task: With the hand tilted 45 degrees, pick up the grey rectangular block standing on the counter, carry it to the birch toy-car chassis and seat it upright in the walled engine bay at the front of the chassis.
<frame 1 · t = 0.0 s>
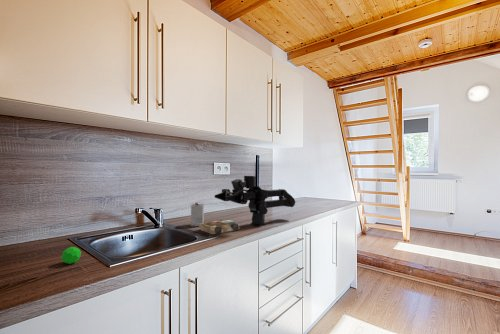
hand: (219, 197, 120), 17 cm above the worktop, tool horizontal, fingers open, 9 cm apart
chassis: (220, 229, 124), on the worktop
grey rectangular block: (197, 225, 133), on the worktop
polyhedron: (71, 263, 78), on the worktop
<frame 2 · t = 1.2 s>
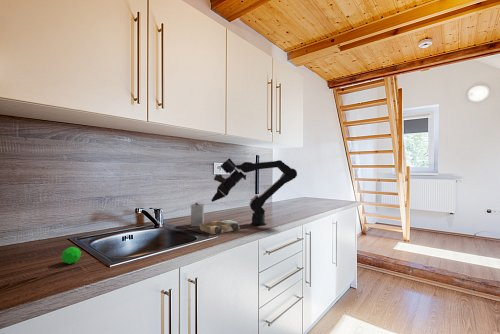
hand: (212, 200, 134), 13 cm above the worktop, tool tilted 45°, fingers open, 9 cm apart
nothing on the worktop moved.
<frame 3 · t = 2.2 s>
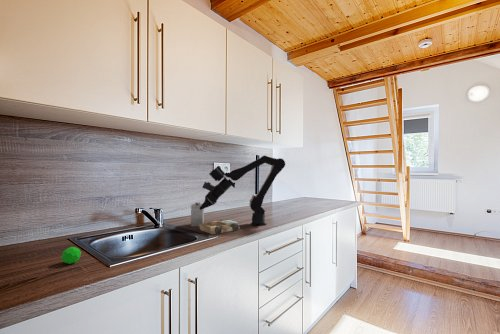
hand: (200, 207, 134), 9 cm above the worktop, tool tilted 45°, fingers open, 9 cm apart
nothing on the worktop moved.
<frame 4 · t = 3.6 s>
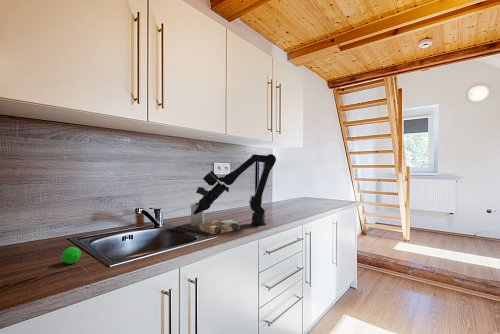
hand: (194, 212, 133), 7 cm above the worktop, tool tilted 45°, fingers closed on grey rectangular block, 6 cm apart
grey rectangular block: (197, 225, 133), on the worktop, touching gripper
everything else where it was.
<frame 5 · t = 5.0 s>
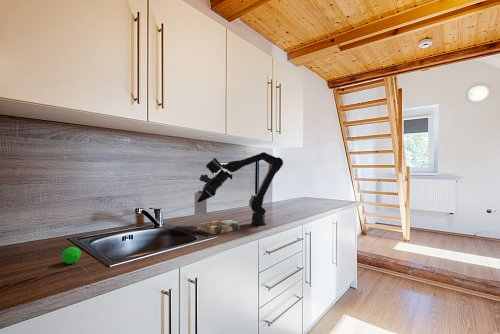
hand: (198, 201, 130), 13 cm above the worktop, tool tilted 45°, fingers closed on grey rectangular block, 6 cm apart
grey rectangular block: (200, 213, 130), point 7 cm above the worktop, touching gripper
everything else where it was.
when the fingers open (9 cm above the worktop, at t = 6.9 s): grey rectangular block drops 1 cm, resting on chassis.
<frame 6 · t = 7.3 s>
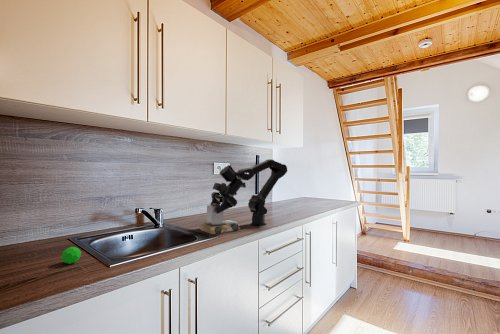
hand: (212, 211, 121), 9 cm above the worktop, tool tilted 45°, fingers open, 9 cm apart
grey rectangular block: (214, 228, 122), point 1 cm above the worktop, touching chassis
everything else where it was.
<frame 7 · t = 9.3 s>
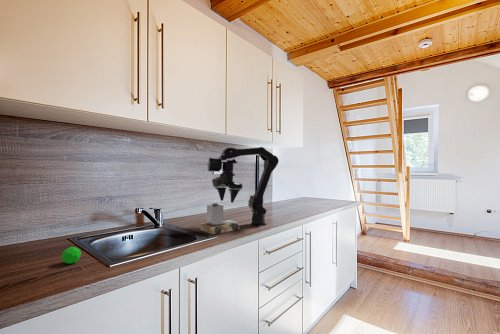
hand: (226, 201, 130), 13 cm above the worktop, tool pointing down, fingers open, 9 cm apart
nothing on the worktop moved.
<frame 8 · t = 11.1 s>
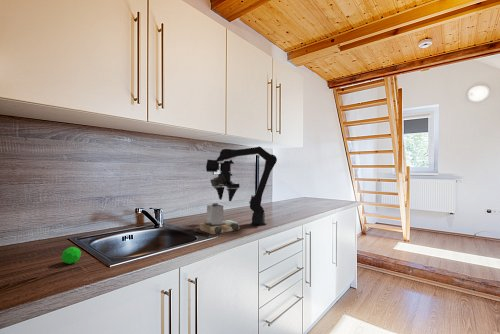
hand: (225, 200, 137), 13 cm above the worktop, tool pointing down, fingers open, 9 cm apart
nothing on the worktop moved.
at the end: grey rectangular block 0.1 cm from the target spot on the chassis, point 1.2 cm above the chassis's base; grey rectangular block tilted 0°; the gripper is holding nothing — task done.
